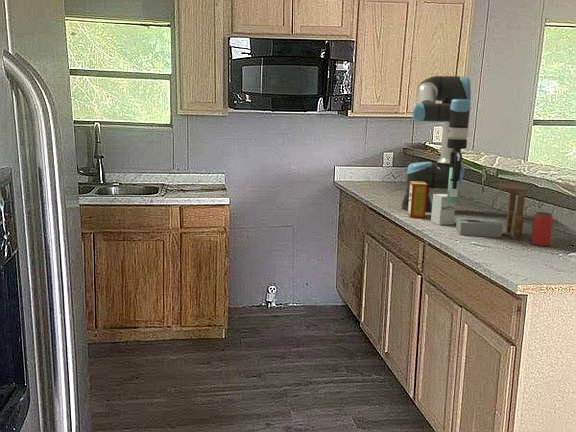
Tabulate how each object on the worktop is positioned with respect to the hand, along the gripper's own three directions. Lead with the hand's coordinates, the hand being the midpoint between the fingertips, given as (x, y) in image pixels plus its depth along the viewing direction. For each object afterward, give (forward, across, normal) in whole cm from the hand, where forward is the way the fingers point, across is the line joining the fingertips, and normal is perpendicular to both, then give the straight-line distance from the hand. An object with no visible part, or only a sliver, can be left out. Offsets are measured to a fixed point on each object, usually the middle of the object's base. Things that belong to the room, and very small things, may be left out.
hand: (452, 195), depth 228 cm
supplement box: (+15, -13, -1) cm, 20 cm away
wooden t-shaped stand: (+15, +4, +21) cm, 26 cm away
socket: (+14, +4, +11) cm, 18 cm away
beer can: (+14, +18, +31) cm, 38 cm away
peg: (+3, 0, 0) cm, 3 cm away
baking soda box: (+15, -27, -11) cm, 33 cm away
